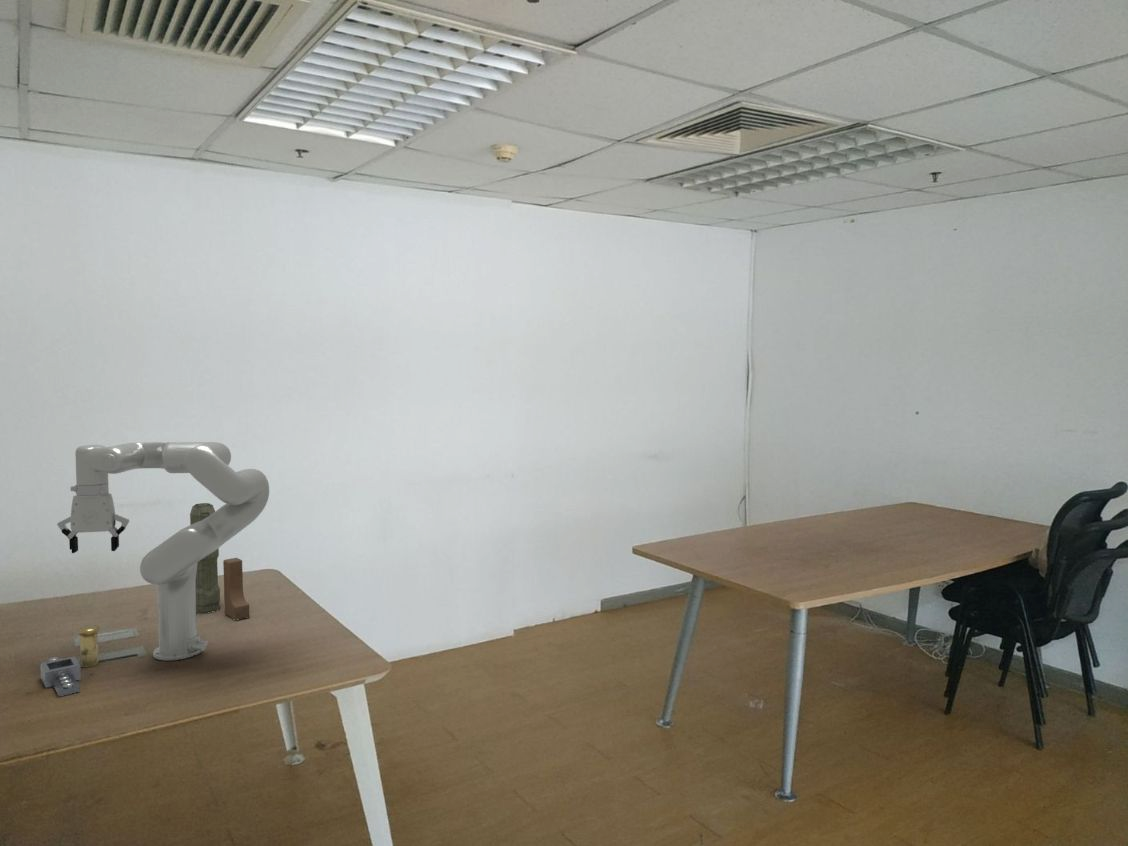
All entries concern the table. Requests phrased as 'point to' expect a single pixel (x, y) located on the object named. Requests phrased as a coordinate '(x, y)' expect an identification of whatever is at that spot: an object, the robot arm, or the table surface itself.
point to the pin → (89, 644)
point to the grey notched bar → (61, 675)
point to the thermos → (206, 568)
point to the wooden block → (234, 589)
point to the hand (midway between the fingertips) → (94, 551)
